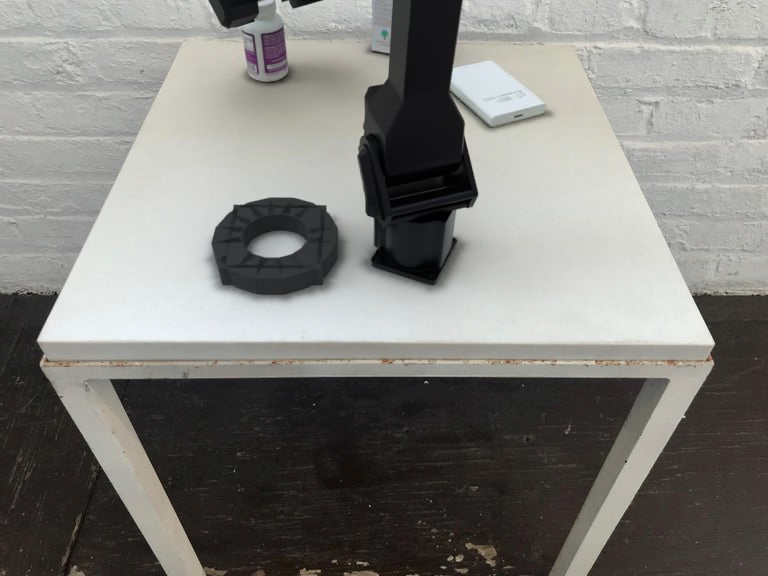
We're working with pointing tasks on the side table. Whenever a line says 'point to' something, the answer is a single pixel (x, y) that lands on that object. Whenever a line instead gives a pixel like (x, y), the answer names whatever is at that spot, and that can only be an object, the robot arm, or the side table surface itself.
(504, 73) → the hard drive
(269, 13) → the pill bottle
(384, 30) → the ink cartridge box
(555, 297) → the side table surface
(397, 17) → the robot arm
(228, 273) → the pad
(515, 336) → the side table surface
